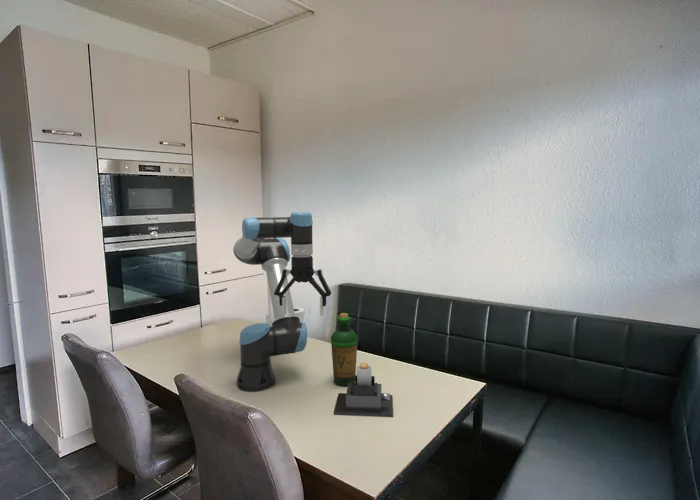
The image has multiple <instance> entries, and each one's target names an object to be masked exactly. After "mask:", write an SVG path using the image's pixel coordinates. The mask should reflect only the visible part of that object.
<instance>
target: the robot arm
mask: <svg viewBox="0 0 700 500" xmlns="http://www.w3.org/2000/svg"><path fill="white" fill-rule="evenodd" d="M313 223H314V222H313V215H312V213H311V212H309V211H307V212H306V211H294V212H291V213H290V216H286V217H285V216H283V217H281V216H280V217H279V216H278V217H276V216H275V217H254V216H253V217H246V218H244V219H243V220H242V221H241V233H242V236H241V238H239V239H237V240H236V242H235V243H234V246H233V255H234V256H235V258H236V259H237V260H238V261H239V262H241V263H244V264H247V265H250V266H251V265H252V266H253V265H254V266H257V265H261V269H262V270H263V271H265V273H266V279H267V284H268V290H269V295H270V300H271V301H270V302H271V304H272V305H271V306H272V311H273V317H274V319H273V321H272V323H271V326H270V324H269V323H266V322H263V323H261V322H260V323H258V322H257V323H254V324H251V325H247V326H245V327H243V328H242V330H241V331H240V333H239V342H238V343H239V346H240V347H239V349H240V351H239V352H240V353H239V354H240V368H239V371H238V375H237V378H236V387H237V389H239V390H241V391H244V392H260V391H265V390H268V389H270V388H272V387H273V386H274V385H275V384H276V383H277V381H276V379H277V378H276V374H275V371H274V368H273V366H272V359H271V357H276V356H282V355H289V354H297V353H301V352H303V351H304V350H305V349H306V347H307V343H308V331H307V330H308V328H307V325H306V323H305V322H303V323H300V319H299V317H297V316H296V315H295V313H294V308H295V307H294V303H293V299H292V295H291V290H290V288H291V287H292V286H293V284H294V283H295V282H297V283H309V284H310V285H311V286H312V287H313V288H314V289H315V290H316V291H317V292H318V293H319V295H320V297H319V309H320V310H319V314H320V315H319V316H320V317H323V316H324V307H326V306H327V297H330V296H331V295H332V291H331V289H330V287H329V285H328V284H327V281H326V279H325V278H324V275H323V270H322V269H321V268H319V269H314V263H313V262H314V257H313V255H314V254H313V253H314V249H313V246H314V245H313V244H314V243H313ZM285 238H290V246H289V244H288V242H287V241H286V240H285ZM290 260H291V267H290V268H291V269H287V268H286V267H287V266H288V263H289V262H290ZM289 275H291V276H292V278H291V280H290V281H289V280H288V276H289ZM314 275H315V276H316V277H318V279H319V282H320V284H321V285H322V287H321V286H320V284H319V283H318V282H317V281H316V280H315V278H314V277H313V276H314Z"/></svg>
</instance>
